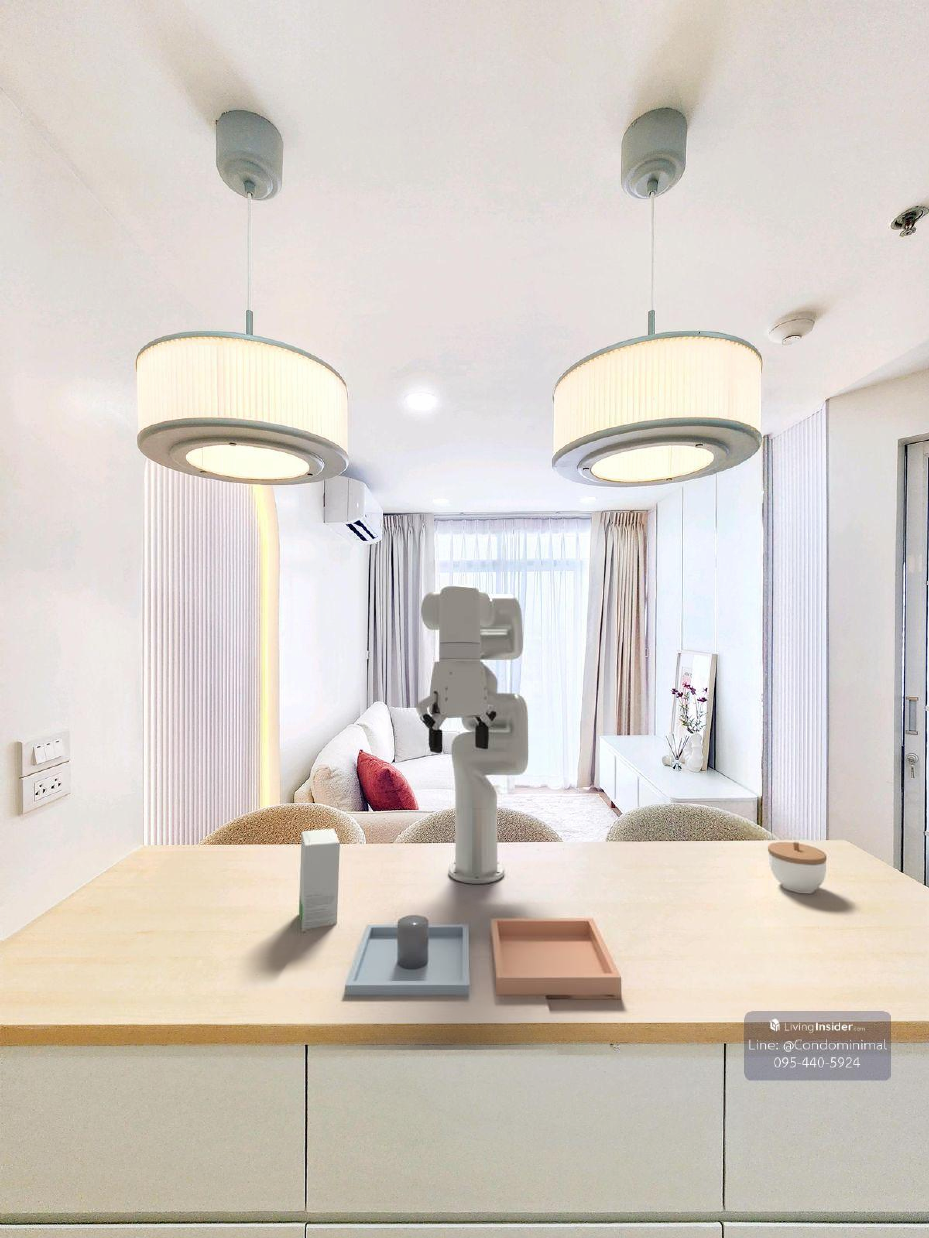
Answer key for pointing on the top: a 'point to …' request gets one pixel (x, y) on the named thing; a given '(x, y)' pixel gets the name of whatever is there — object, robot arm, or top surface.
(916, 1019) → the top surface
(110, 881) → the top surface
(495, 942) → the terracotta dish
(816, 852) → the lidded jar
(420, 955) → the gray metal cylinder
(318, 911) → the skincare box
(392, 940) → the parts tray
